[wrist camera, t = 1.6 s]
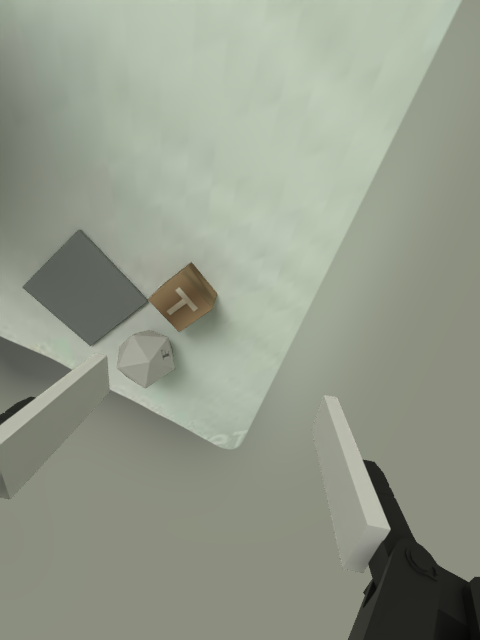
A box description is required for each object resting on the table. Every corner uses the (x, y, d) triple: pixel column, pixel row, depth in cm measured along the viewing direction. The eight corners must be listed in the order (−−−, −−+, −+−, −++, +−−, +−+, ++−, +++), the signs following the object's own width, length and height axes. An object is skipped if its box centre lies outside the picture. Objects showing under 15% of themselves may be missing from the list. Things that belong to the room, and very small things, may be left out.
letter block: (162, 285, 37) (147, 299, 32) (191, 261, 36) (181, 273, 30) (188, 314, 39) (178, 332, 34) (217, 293, 38) (212, 309, 32)
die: (174, 369, 45) (186, 380, 36) (124, 384, 42) (123, 400, 33) (164, 325, 45) (173, 326, 36) (112, 337, 41) (108, 341, 32)
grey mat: (24, 286, 38) (22, 287, 38) (80, 229, 34) (78, 230, 34) (91, 344, 42) (90, 346, 42) (148, 300, 38) (147, 301, 38)
